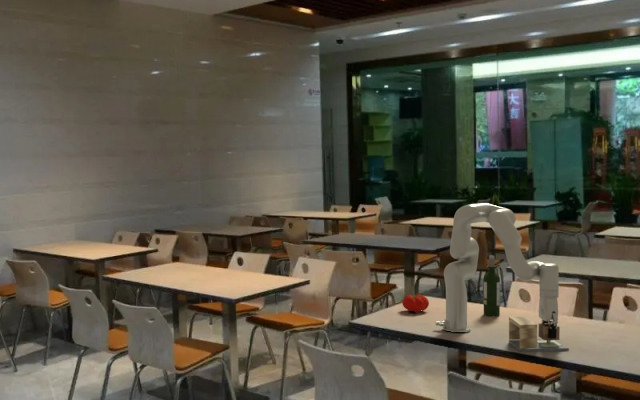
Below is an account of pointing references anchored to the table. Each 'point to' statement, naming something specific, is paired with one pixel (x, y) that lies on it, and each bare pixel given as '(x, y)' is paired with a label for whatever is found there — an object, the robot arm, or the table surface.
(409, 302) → the tomato
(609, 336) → the table surface
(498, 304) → the wine bottle
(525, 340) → the tan wooden block
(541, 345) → the board
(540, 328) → the brown wooden cube
